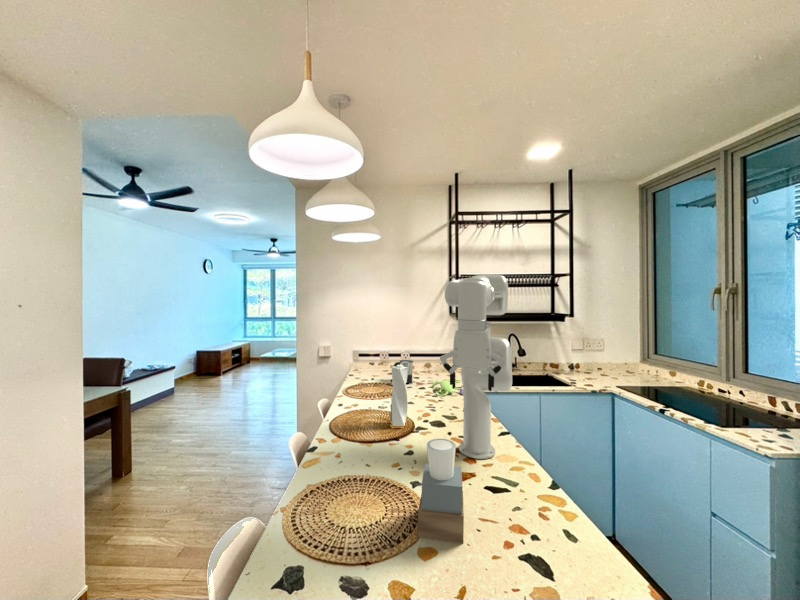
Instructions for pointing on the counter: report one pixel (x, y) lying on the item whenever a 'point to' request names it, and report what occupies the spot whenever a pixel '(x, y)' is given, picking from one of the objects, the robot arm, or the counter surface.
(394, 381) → the skyscraper
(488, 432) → the robot arm
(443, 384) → the figurine
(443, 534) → the walnut base block
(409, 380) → the milk frother
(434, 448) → the shot glass
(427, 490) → the slate top block
